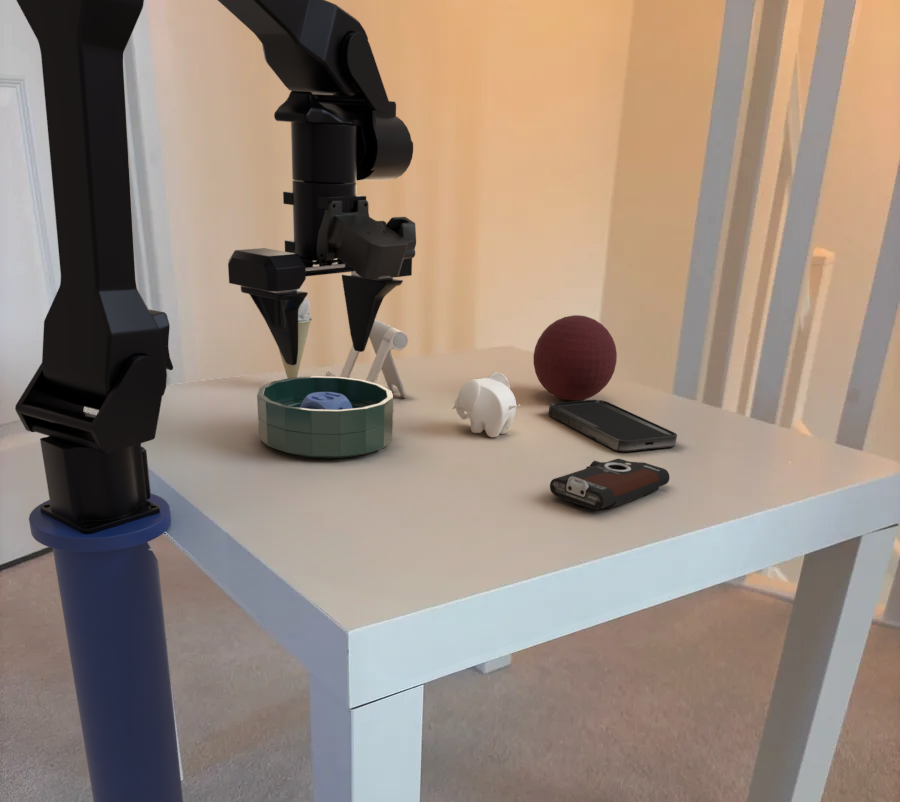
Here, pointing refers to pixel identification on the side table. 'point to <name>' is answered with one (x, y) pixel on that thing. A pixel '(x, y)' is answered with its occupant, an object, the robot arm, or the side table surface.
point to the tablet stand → (380, 356)
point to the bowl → (325, 417)
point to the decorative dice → (326, 401)
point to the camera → (609, 483)
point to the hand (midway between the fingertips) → (326, 357)
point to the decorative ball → (575, 358)
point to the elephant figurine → (487, 404)
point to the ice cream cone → (299, 337)
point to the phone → (612, 425)
